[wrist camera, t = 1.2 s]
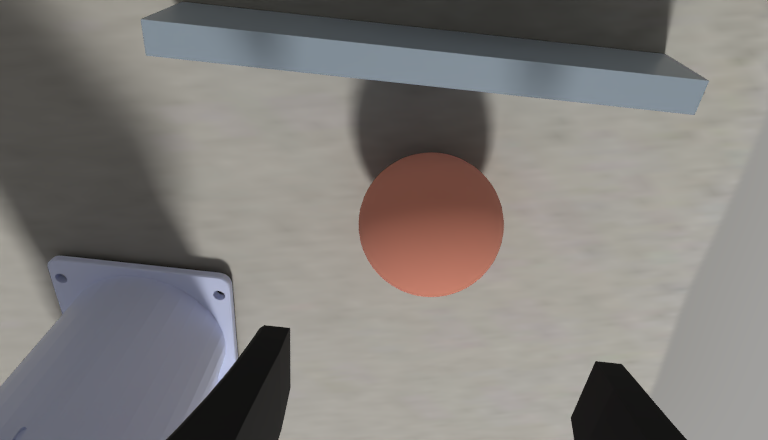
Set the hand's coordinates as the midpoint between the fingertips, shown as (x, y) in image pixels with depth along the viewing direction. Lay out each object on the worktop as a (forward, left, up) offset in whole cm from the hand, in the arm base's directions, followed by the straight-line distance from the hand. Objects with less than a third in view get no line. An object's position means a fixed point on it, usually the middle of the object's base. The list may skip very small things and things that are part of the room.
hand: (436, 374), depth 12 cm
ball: (0, 0, -7) cm, 7 cm away
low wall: (+5, +1, -9) cm, 11 cm away
